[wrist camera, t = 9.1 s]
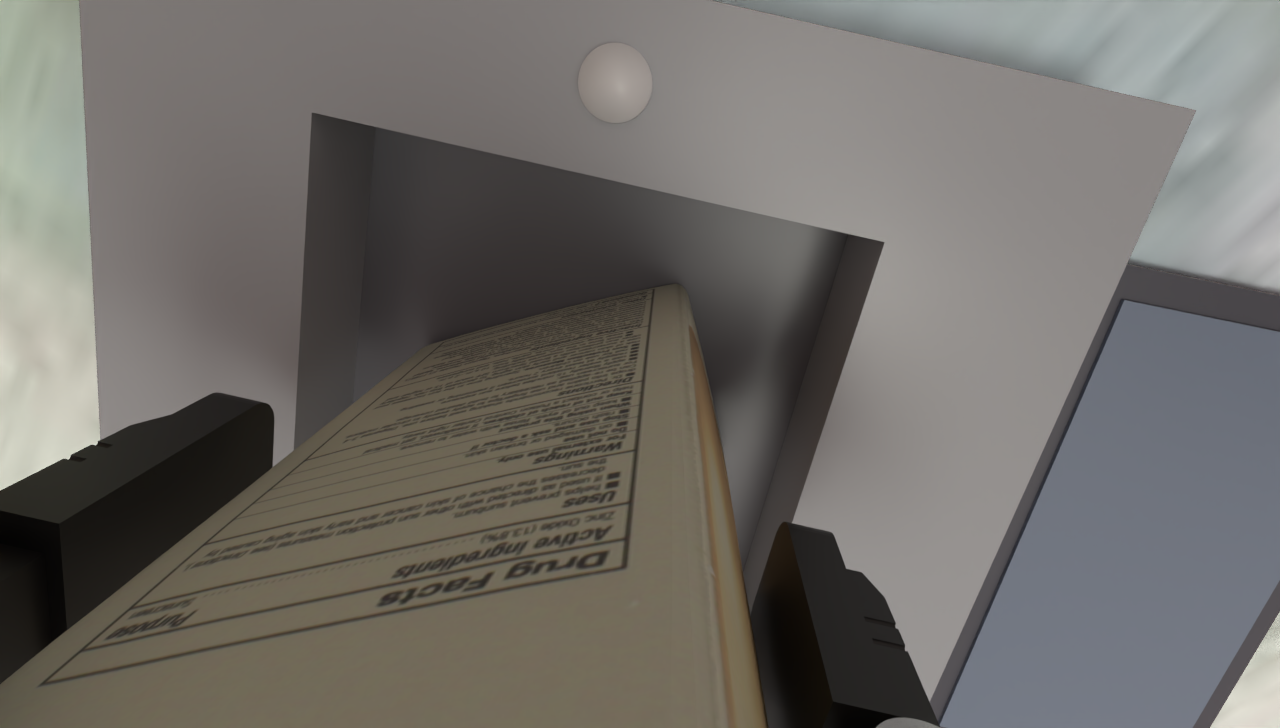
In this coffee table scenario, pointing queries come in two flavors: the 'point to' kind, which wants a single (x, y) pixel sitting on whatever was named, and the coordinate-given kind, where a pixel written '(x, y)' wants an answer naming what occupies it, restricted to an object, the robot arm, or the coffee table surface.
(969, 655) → the phone
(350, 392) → the gray recessed tray
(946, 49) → the coffee table surface
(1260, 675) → the coffee table surface
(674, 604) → the skincare box
